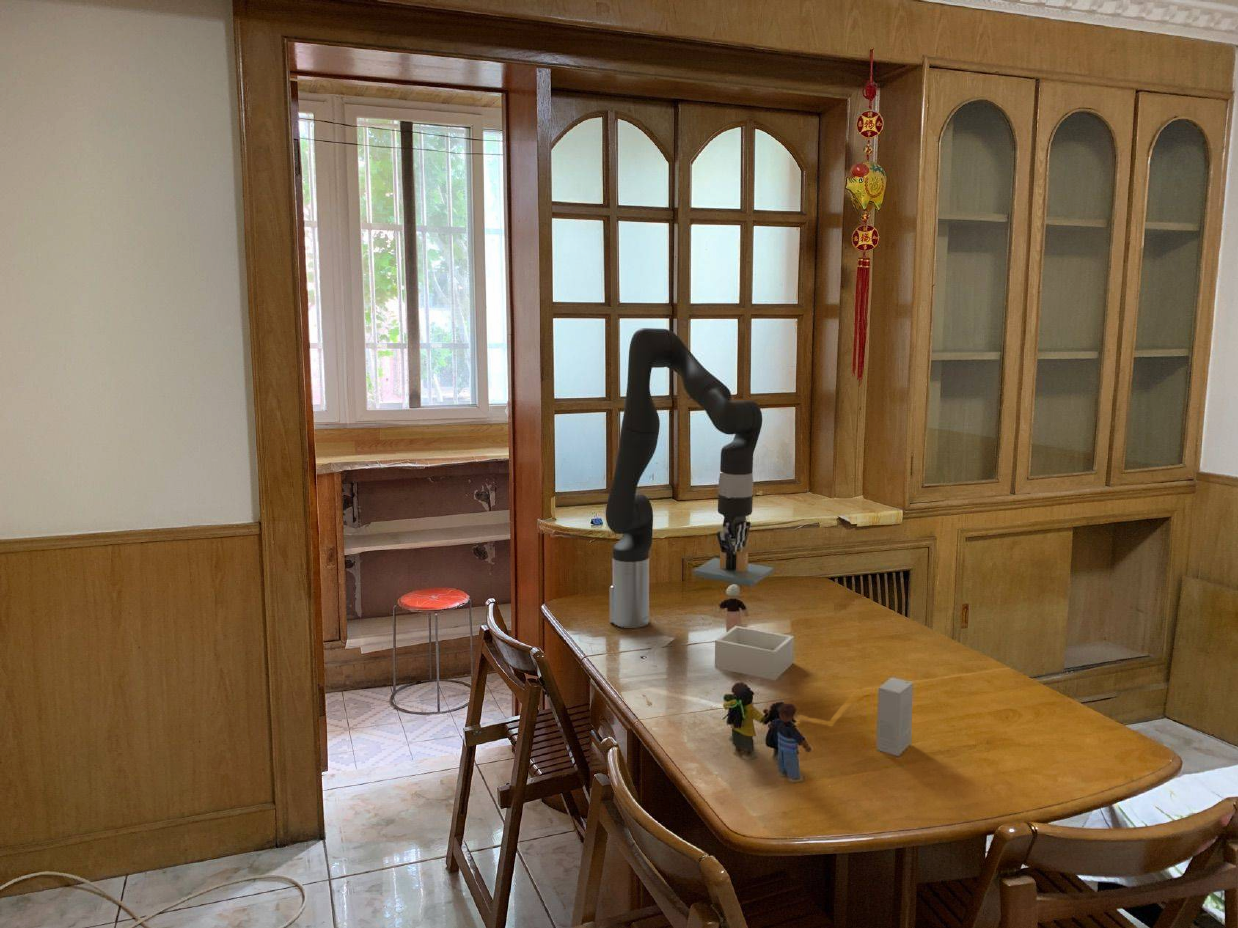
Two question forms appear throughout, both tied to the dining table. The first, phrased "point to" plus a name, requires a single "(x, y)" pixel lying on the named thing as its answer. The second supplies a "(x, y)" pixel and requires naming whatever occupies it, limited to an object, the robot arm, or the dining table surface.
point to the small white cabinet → (754, 652)
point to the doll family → (778, 736)
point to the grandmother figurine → (733, 608)
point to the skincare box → (894, 716)
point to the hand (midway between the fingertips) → (732, 568)
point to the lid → (740, 576)
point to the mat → (657, 647)
